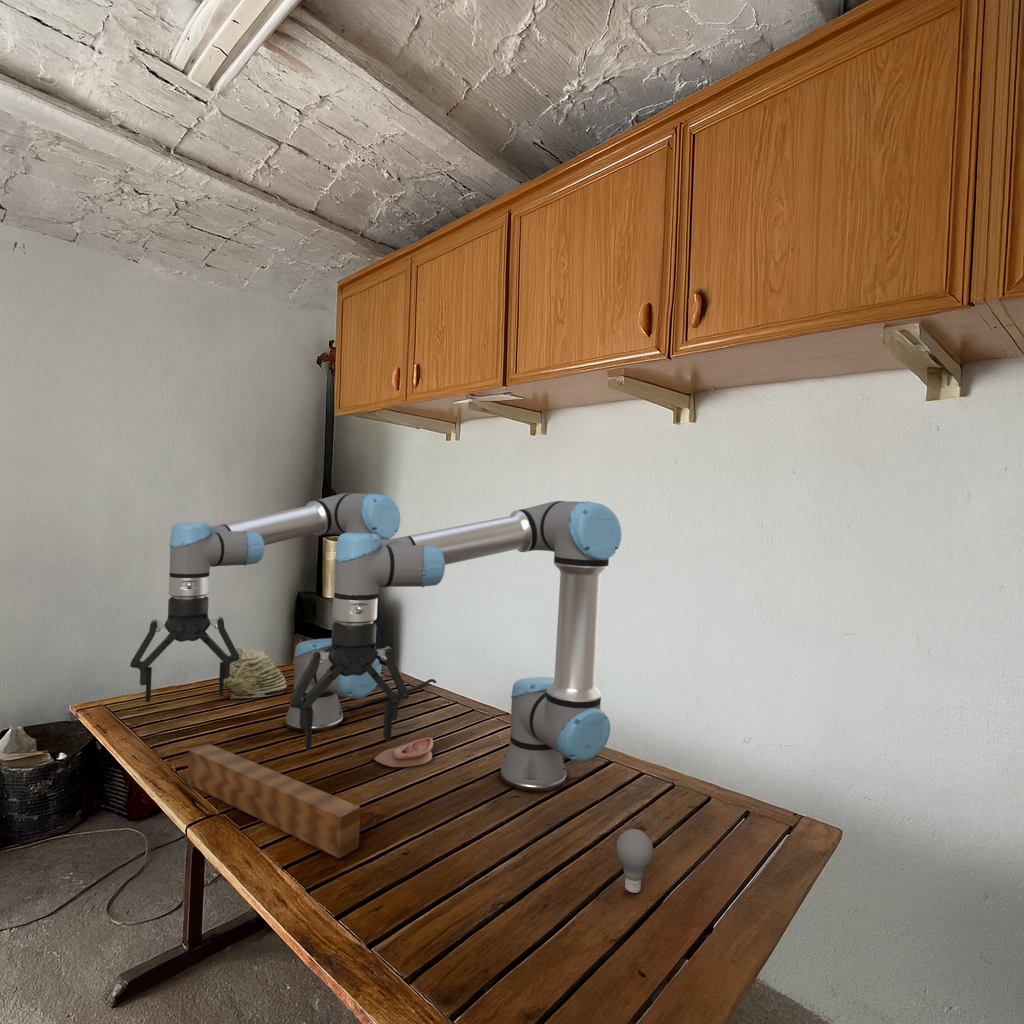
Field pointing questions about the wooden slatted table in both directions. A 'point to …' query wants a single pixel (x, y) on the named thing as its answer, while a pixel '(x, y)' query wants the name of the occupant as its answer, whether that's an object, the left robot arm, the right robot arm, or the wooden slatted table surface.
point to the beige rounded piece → (407, 754)
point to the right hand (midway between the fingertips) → (348, 742)
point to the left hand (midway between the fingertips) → (185, 697)
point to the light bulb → (634, 857)
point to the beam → (276, 799)
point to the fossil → (254, 675)
